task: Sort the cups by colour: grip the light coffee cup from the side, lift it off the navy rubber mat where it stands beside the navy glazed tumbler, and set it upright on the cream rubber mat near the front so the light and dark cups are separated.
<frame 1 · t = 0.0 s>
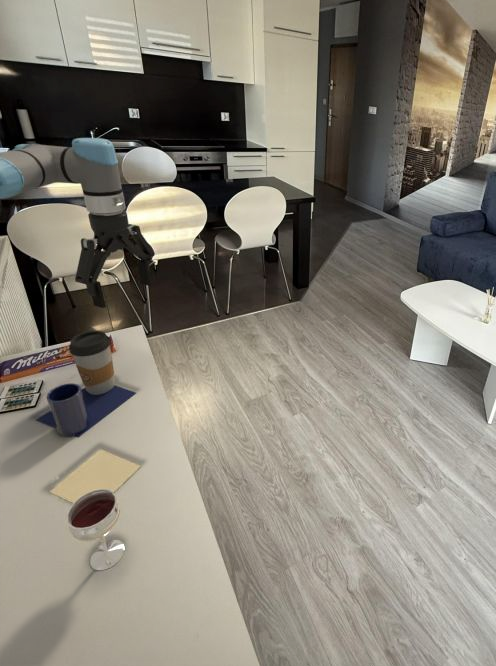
hand: (124, 294, 99), 24 cm above the table, tool pointing down, fingers open, 13 cm apart
navy tumbler: (74, 426, 90), resting on navy mat
cream mat: (97, 478, 79), on the table
coffee cup: (101, 387, 102), resting on navy mat
wineglass: (107, 555, 67), on the table
navy mat: (89, 406, 96), on the table
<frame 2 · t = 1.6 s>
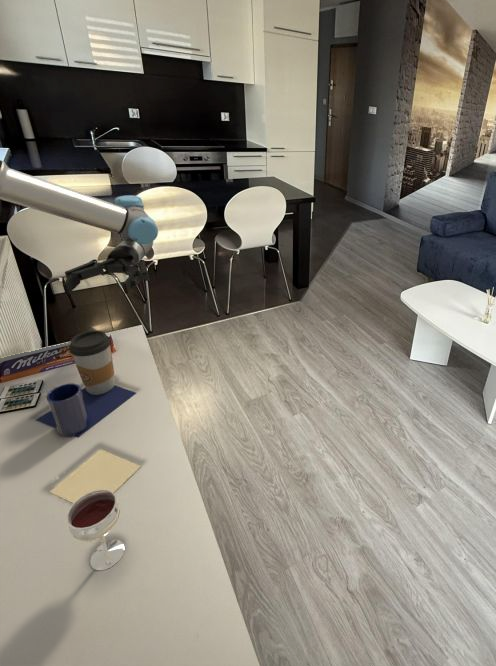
hand: (95, 289, 99), 24 cm above the table, tool horizontal, fingers open, 13 cm apart
nothing on the table moved.
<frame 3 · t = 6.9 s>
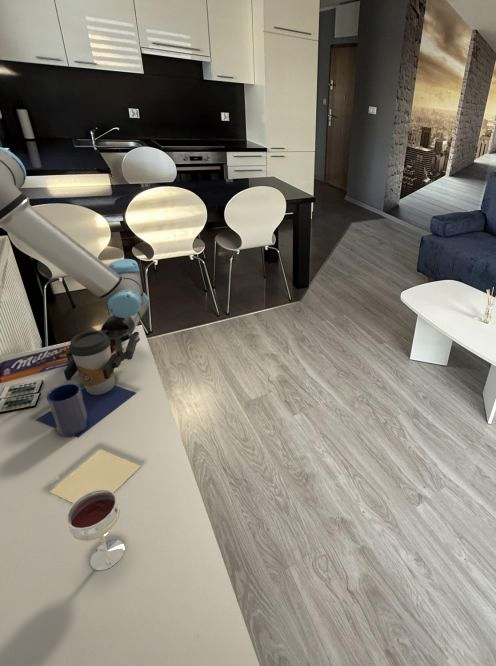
hand: (86, 375, 94), 8 cm above the table, tool horizontal, fingers closed on coffee cup, 8 cm apart
coffee cup: (101, 387, 102), resting on navy mat, touching gripper
everything else where it was.
when the fingers open (8 cm above the table, at t = 16.6 s): coffee cup stays where it is, resting on cream mat.
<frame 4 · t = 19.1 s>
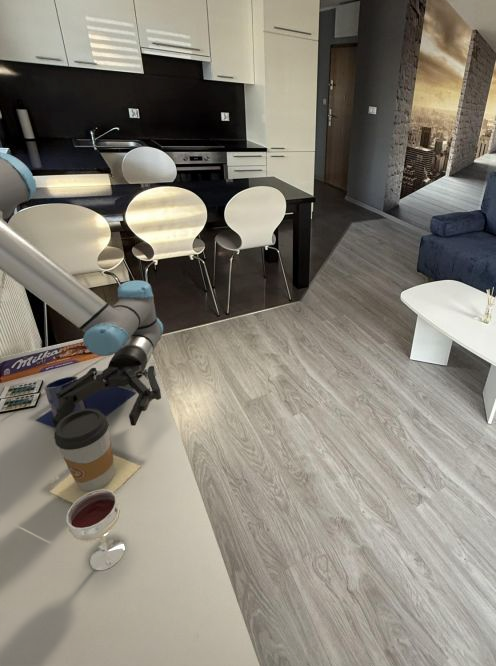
hand: (94, 423, 78), 10 cm above the table, tool horizontal, fingers open, 13 cm apart
navy tumbler: (73, 422, 90), point 1 cm above the table, tilted 20°, touching navy mat
coffee cup: (97, 479, 79), resting on cream mat
everything else where it was.
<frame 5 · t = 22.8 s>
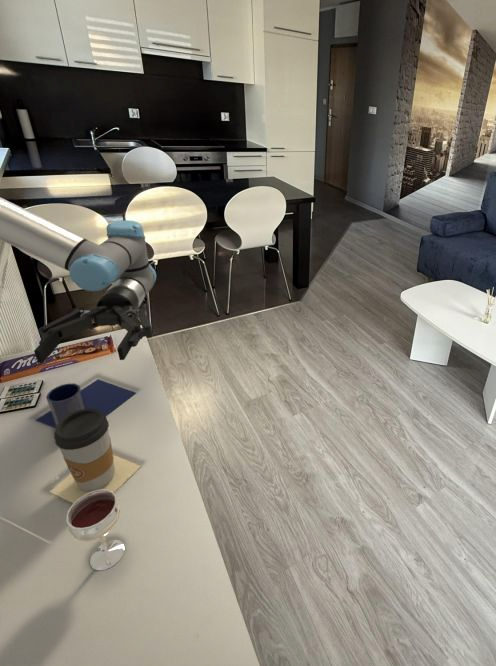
hand: (80, 355, 73), 26 cm above the table, tool horizontal, fingers open, 13 cm apart
navy tumbler: (74, 426, 90), resting on navy mat
everything else where it was.
at the end: coffee cup inside the target area on the cream mat (0.0 cm from its centre), point 0.0 cm above the cream mat's base; coffee cup tilted 0°; navy tumbler moved 0.2 cm from its start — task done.
